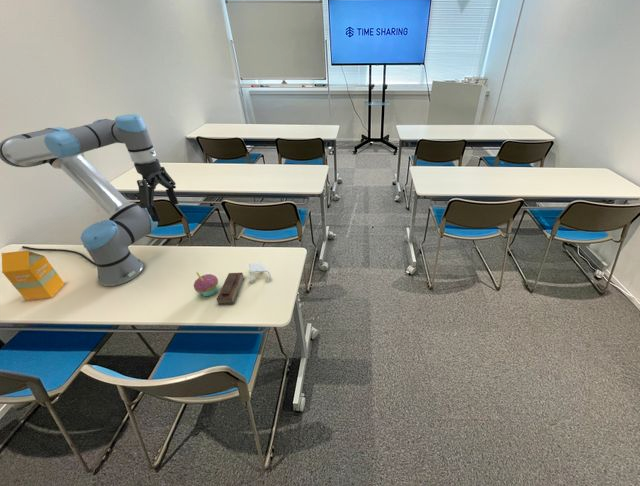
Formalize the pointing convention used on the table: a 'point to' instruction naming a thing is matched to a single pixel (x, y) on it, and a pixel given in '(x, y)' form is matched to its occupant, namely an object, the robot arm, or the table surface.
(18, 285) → the orange juice
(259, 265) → the origami figure
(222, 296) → the brown rectangular panel
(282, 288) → the table surface
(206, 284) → the cupcake
